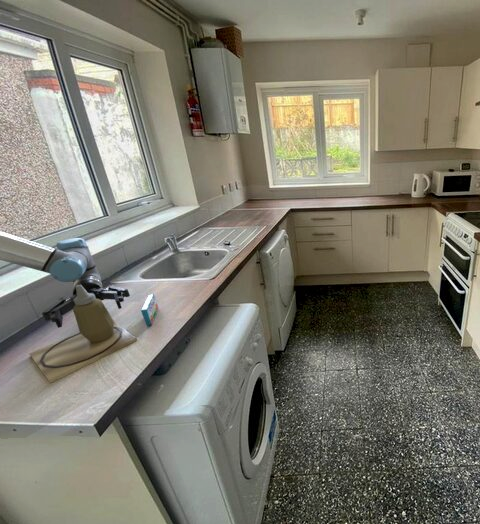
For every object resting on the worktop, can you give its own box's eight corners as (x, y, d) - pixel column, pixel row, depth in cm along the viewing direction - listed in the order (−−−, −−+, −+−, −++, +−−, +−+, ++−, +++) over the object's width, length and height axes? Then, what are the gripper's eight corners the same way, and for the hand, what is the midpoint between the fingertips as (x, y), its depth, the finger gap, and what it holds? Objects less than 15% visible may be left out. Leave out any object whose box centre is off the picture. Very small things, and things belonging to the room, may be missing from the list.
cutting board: (30, 355, 84) (28, 352, 83) (111, 321, 99) (110, 318, 98) (50, 383, 73) (48, 379, 73) (137, 340, 88) (136, 337, 88)
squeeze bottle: (104, 345, 85) (79, 291, 78) (78, 345, 86) (51, 292, 79) (124, 328, 93) (103, 278, 86) (100, 329, 93) (77, 279, 86)
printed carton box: (154, 309, 105) (148, 294, 103) (158, 308, 106) (153, 293, 104) (146, 326, 95) (140, 310, 93) (152, 325, 96) (146, 309, 93)
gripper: (135, 287, 107) (144, 308, 92) (42, 313, 92) (35, 343, 77) (128, 268, 104) (136, 287, 89) (31, 292, 89) (21, 320, 74)
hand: (89, 313), depth 83 cm, fingers open, 13 cm apart
